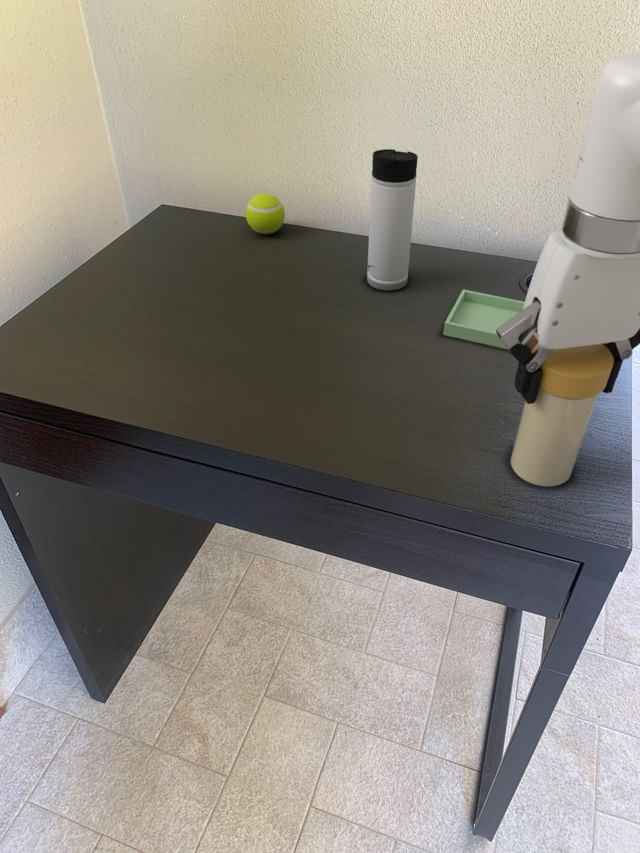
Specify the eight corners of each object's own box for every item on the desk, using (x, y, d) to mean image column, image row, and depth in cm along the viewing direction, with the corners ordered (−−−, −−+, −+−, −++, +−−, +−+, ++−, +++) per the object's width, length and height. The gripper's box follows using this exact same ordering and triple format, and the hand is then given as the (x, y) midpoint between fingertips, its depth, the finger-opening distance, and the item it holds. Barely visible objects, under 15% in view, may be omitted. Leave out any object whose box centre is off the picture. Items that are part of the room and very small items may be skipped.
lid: (537, 399, 65) (543, 377, 63) (519, 354, 70) (524, 332, 68) (617, 398, 65) (625, 376, 63) (592, 353, 70) (599, 331, 68)
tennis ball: (291, 236, 118) (290, 199, 113) (254, 244, 116) (252, 206, 111) (277, 221, 122) (275, 184, 118) (242, 228, 120) (238, 191, 116)
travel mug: (360, 287, 105) (365, 155, 91) (374, 268, 109) (381, 139, 96) (399, 295, 103) (409, 162, 90) (412, 275, 107) (424, 145, 94)
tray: (527, 314, 99) (530, 302, 97) (513, 350, 92) (516, 338, 91) (461, 301, 102) (462, 289, 100) (442, 335, 95) (444, 322, 94)
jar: (575, 454, 77) (610, 349, 67) (567, 493, 72) (603, 387, 63) (516, 438, 79) (542, 335, 69) (505, 476, 74) (530, 371, 65)
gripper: (678, 196, 61) (622, 358, 73) (494, 214, 58) (467, 378, 70) (732, 233, 55) (662, 401, 67) (531, 254, 53) (495, 425, 65)
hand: (563, 389), depth 68 cm, fingers closed on lid, 7 cm apart
